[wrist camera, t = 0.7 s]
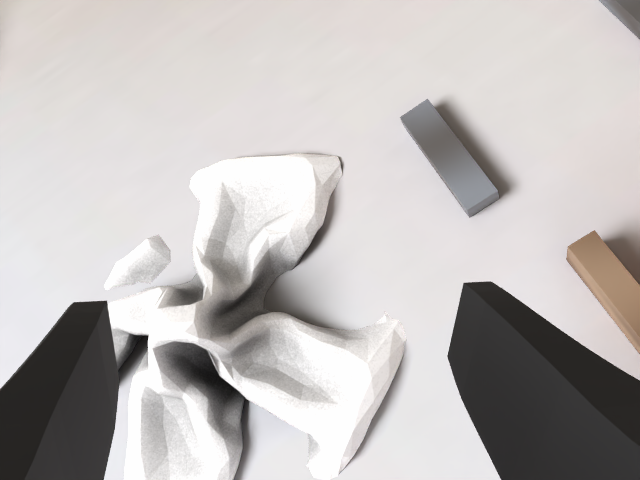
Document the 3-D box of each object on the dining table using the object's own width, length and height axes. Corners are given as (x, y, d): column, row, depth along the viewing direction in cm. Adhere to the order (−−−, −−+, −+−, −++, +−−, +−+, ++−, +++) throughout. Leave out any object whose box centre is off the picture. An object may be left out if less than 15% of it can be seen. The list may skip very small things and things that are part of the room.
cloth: (299, 99, 34) (252, 34, 28) (493, 389, 26) (479, 376, 21) (2, 315, 37) (-94, 293, 31) (95, 636, 29) (-11, 684, 23)
